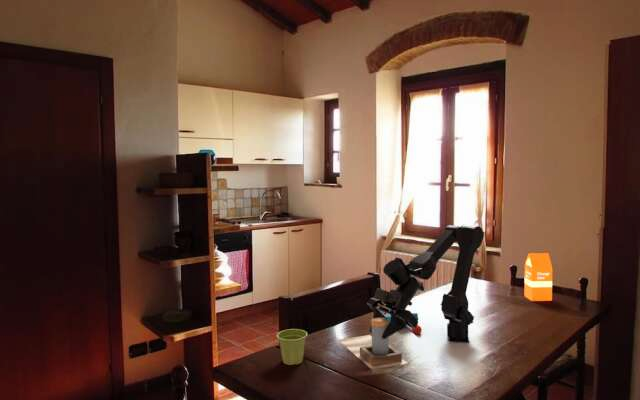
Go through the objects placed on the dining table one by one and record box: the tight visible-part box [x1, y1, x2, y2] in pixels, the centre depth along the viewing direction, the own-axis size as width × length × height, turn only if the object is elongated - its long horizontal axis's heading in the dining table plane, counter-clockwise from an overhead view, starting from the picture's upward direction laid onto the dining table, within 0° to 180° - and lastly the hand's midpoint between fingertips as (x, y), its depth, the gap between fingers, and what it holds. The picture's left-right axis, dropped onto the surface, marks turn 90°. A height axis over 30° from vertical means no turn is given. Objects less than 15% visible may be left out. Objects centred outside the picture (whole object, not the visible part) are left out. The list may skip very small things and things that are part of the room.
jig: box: [337, 334, 409, 374], centre depth 153 cm, size 26×12×4 cm, turn 20°
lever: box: [384, 312, 422, 336], centre depth 177 cm, size 7×7×18 cm
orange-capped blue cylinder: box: [370, 317, 390, 356], centre depth 147 cm, size 5×5×12 cm
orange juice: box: [524, 252, 553, 302], centre depth 211 cm, size 8×9×20 cm
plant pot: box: [276, 328, 308, 366], centre depth 148 cm, size 9×9×9 cm
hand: (376, 335), depth 146 cm, fingers open, 6 cm apart
